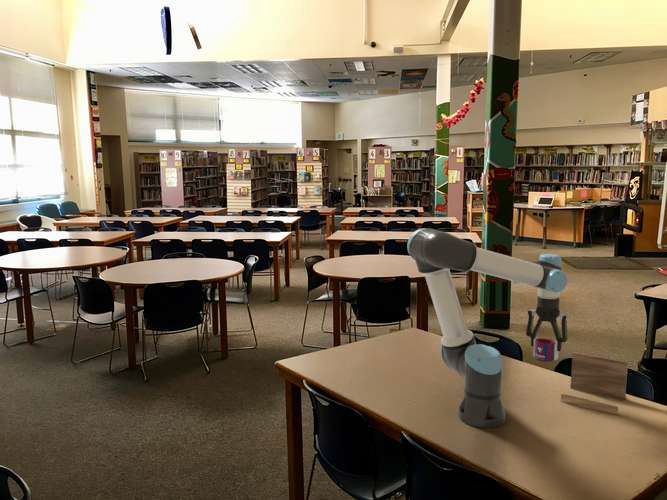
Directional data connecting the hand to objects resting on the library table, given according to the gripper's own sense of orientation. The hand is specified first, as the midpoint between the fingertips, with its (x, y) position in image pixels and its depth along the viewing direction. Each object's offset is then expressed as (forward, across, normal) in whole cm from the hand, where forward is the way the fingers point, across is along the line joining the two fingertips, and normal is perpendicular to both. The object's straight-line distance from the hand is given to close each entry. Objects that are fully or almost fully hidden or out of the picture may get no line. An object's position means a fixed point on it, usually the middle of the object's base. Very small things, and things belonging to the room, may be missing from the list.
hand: (545, 356), depth 194 cm
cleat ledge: (+13, -17, +6) cm, 22 cm away
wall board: (+13, -17, -8) cm, 23 cm away
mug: (+1, 0, 0) cm, 1 cm away
